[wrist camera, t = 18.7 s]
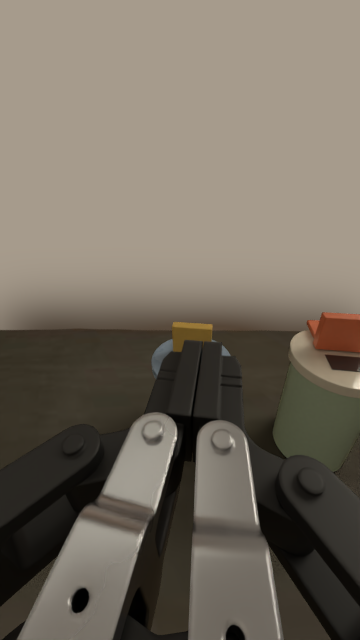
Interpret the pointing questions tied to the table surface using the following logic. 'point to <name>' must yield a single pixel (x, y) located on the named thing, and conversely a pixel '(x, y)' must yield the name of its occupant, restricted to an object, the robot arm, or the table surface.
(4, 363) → the table surface
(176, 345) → the block
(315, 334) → the block
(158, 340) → the table surface
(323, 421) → the sage cup
